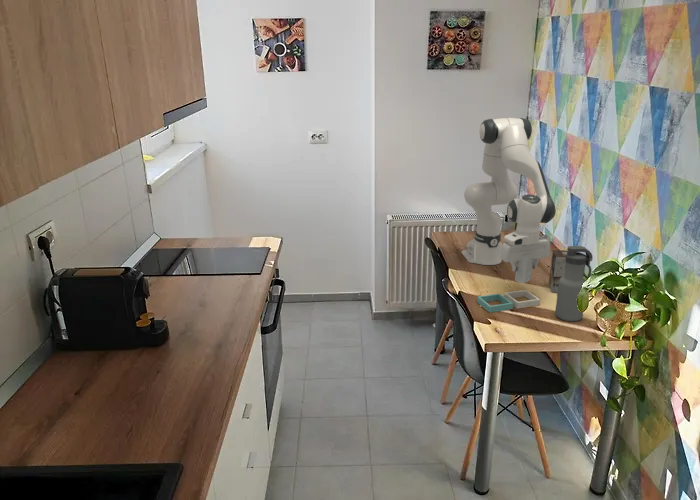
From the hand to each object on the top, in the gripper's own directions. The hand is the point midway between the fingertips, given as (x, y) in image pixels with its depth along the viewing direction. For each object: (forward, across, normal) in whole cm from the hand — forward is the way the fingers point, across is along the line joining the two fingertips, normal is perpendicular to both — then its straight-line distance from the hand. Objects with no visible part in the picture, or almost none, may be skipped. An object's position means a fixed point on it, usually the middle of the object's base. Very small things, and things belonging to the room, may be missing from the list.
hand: (524, 269), depth 215 cm
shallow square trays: (+14, +6, 0) cm, 15 cm away
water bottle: (+14, -10, +18) cm, 25 cm away
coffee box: (+14, -22, -6) cm, 27 cm away
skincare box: (+5, 0, 0) cm, 5 cm away
